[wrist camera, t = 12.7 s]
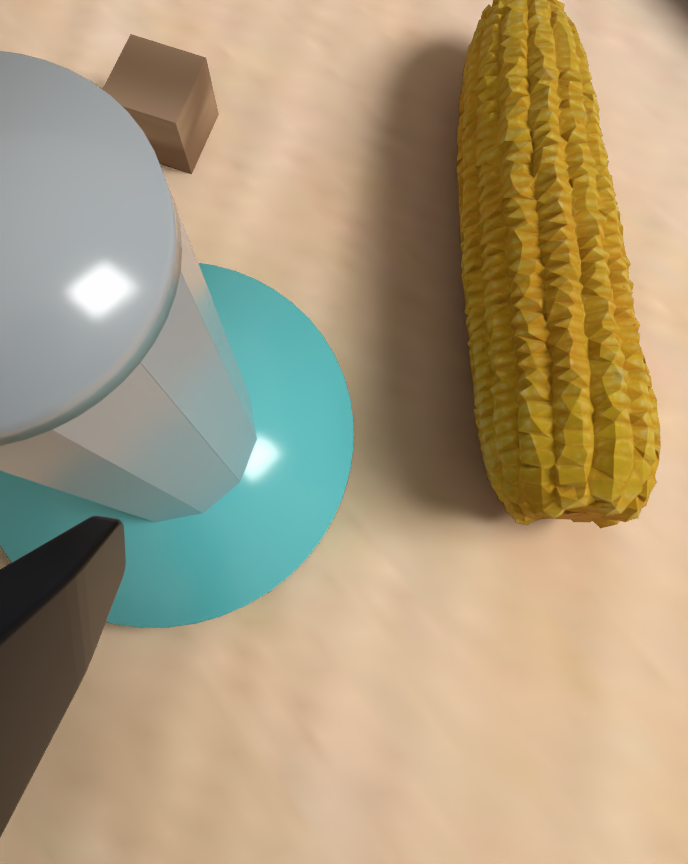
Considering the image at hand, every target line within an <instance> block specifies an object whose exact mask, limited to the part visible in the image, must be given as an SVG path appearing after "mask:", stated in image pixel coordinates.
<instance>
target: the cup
mask: <svg viewBox="0 0 688 864" xmlns="http://www.w3.org/2000/svg"><path fill="white" fill-rule="evenodd" d="M256 440H257V436H256V430H255V424H254V419H253V413H252V407H251V401H250V395H249V393H248V390H247V388H246V385H245V382H244V380H243V377H242V375H241V372H240V370H239V367H238V364H237V362H236V359H235V357H234V354H233V351H232V349H231V346H230V344H229V341H228V339H227V336H226V333H225V331H224V328H223V326H222V323H221V320H220V318H219V315H218V313H217V310H216V308H215V305H214V302H213V300H212V297H211V295H210V292H209V289H208V287H207V284H206V282H205V279H204V277H203V274H202V271H201V269H200V266H199V264H198V261H197V259H196V256H195V253H194V251H193V248H192V246H191V243H190V240H189V238H188V235H187V233H186V230H185V228H184V225H183V222H182V220H181V217H180V215H179V212H178V209H177V207H176V204H175V202H174V199H173V197H172V194H171V191H170V189H169V186H168V184H167V182H166V179H165V176H164V174H163V171H162V169H161V166H160V164H159V161H158V159H157V156H156V154H155V151H154V149H153V148H152V146H151V144H150V142H149V141H148V139H147V137H146V135H145V134H144V132H143V130H142V129H141V128H140V127H139V125H138V124H137V123H136V122H135V120H134V119H133V118H132V116H131V115H130V114H129V113H128V112H127V111H126V110H125V109H124V108H123V107H122V106H121V105H120V104H119V103H118V102H117V101H116V100H115V99H114V98H113V97H112V96H111V95H109V94H108V93H106V92H105V91H104V90H102V89H101V88H100V87H98V86H97V85H95V84H94V83H93V82H91V81H90V80H88V79H86V78H84V77H82V76H80V75H78V74H77V73H75V72H73V71H71V70H69V69H67V68H64V67H61V66H59V65H56V64H54V63H51V62H49V61H46V60H42V59H38V58H35V57H31V56H27V55H23V54H18V53H11V52H4V51H0V470H1V471H4V472H7V473H10V474H12V475H15V476H18V477H21V478H24V479H27V480H30V481H33V482H36V483H39V484H42V485H45V486H48V487H51V488H54V489H57V490H60V491H63V492H66V493H69V494H72V495H75V496H78V497H81V498H84V499H87V500H90V501H93V502H96V503H99V504H102V505H105V506H108V507H111V508H114V509H117V510H120V511H123V512H126V513H129V514H132V515H135V516H138V517H141V518H144V519H147V520H150V521H153V522H160V521H165V520H170V519H176V518H181V517H186V516H191V515H197V514H202V513H204V512H205V511H206V510H208V509H209V508H210V507H211V506H212V505H214V504H215V503H216V502H217V501H218V500H220V499H221V498H222V497H223V496H225V495H226V494H227V493H228V492H229V491H231V490H232V489H233V488H234V487H235V486H237V485H238V484H239V483H240V482H241V479H242V477H243V474H244V472H245V469H246V466H247V464H248V461H249V459H250V456H251V453H252V451H253V448H254V445H255V443H256Z"/></svg>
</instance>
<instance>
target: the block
mask: <svg viewBox="0 0 688 864" xmlns="http://www.w3.org/2000/svg"><path fill="white" fill-rule="evenodd" d="M103 90H104V91H105V92H106V93H108V94H109V95H111V96H112V97H113V98H114V99H115V100H116V101H117V102H118V103H119V104H120V105H121V106H122V107H123V108H124V109H125V110H126V111H127V112H128V113H129V114H130V115H131V116H132V118H133V119H134V120H135V122H136V123H137V124H138V125H139V127H140V128H141V129H142V130H143V132H144V134H145V135H146V137H147V139H148V141H149V142H150V144H151V146H152V148H153V149H154V151H155V154H156V156H157V159H158V161H159V163H160V164H163V165H166V166H169V167H172V168H175V169H178V170H181V171H185V172H188V173H191V174H192V172H193V170H194V168H195V166H196V163H197V161H198V159H199V157H200V154H201V152H202V150H203V148H204V146H205V143H206V141H207V139H208V137H209V134H210V132H211V130H212V128H213V126H214V123H215V121H216V119H217V117H218V110H217V105H216V101H215V96H214V92H213V87H212V83H211V78H210V73H209V69H208V64H207V60H206V58H205V57H202V56H199V55H195V54H192V53H189V52H186V51H183V50H180V49H176V48H173V47H170V46H167V45H164V44H160V43H157V42H154V41H151V40H148V39H144V38H141V37H138V36H135V35H132V34H131V35H130V37H129V39H128V41H127V43H126V44H125V46H124V48H123V50H122V52H121V54H120V56H119V58H118V60H117V62H116V64H115V66H114V68H113V70H112V72H111V74H110V76H109V78H108V80H107V82H106V84H105V86H104V88H103Z"/></svg>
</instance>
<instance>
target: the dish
mask: <svg viewBox="0 0 688 864" xmlns="http://www.w3.org/2000/svg"><path fill="white" fill-rule="evenodd" d="M198 264H199V266H200V269H201V271H202V274H203V277H204V279H205V282H206V284H207V287H208V289H209V292H210V295H211V297H212V300H213V302H214V305H215V308H216V310H217V313H218V315H219V318H220V320H221V323H222V326H223V328H224V331H225V333H226V336H227V339H228V341H229V344H230V346H231V349H232V351H233V354H234V357H235V359H236V362H237V364H238V367H239V370H240V372H241V375H242V377H243V380H244V382H245V385H246V388H247V390H248V393H249V395H250V401H251V407H252V413H253V419H254V424H255V430H256V436H257V440H256V443H255V445H254V448H253V451H252V453H251V456H250V459H249V461H248V464H247V466H246V469H245V472H244V474H243V477H242V479H241V482H240V483H239V484H238V485H237V486H235V487H234V488H233V489H232V490H231V491H229V492H228V493H227V494H226V495H225V496H223V497H222V498H221V499H220V500H218V501H217V502H216V503H215V504H214V505H212V506H211V507H210V508H209V509H208V510H206V511H205V512H204V513H202V514H197V515H191V516H186V517H181V518H176V519H170V520H165V521H160V522H153V521H150V520H147V519H144V518H141V517H138V516H135V515H132V514H129V513H126V512H123V511H120V510H117V509H114V508H111V507H108V506H105V505H102V504H99V503H96V502H93V501H90V500H87V499H84V498H81V497H78V496H75V495H72V494H69V493H66V492H63V491H60V490H57V489H54V488H51V487H48V486H45V485H42V484H39V483H36V482H33V481H30V480H27V479H24V478H21V477H18V476H15V475H12V474H10V473H7V472H4V471H1V470H0V546H1V548H2V549H3V551H4V552H5V554H6V555H7V557H8V558H9V559H10V561H11V562H14V561H15V560H17V559H19V558H21V557H22V556H24V555H26V554H27V553H29V552H31V551H33V550H34V549H36V548H38V547H39V546H41V545H43V544H45V543H46V542H48V541H50V540H52V539H53V538H55V537H57V536H58V535H60V534H62V533H64V532H65V531H67V530H69V529H70V528H72V527H74V526H76V525H77V524H79V523H81V522H82V521H84V520H86V519H88V518H90V517H92V516H104V517H110V518H116V519H119V520H121V521H122V523H123V525H124V534H125V553H126V566H125V572H124V576H123V579H122V581H121V584H120V586H119V589H118V592H117V594H116V597H115V599H114V602H113V605H112V607H111V610H110V612H109V615H108V617H107V620H106V622H109V623H113V624H118V625H125V626H133V627H141V628H151V627H174V626H181V625H188V624H195V623H198V622H202V621H206V620H209V619H213V618H216V617H220V616H222V615H225V614H227V613H230V612H232V611H234V610H237V609H239V608H241V607H244V606H246V605H248V604H250V603H252V602H254V601H255V600H257V599H259V598H260V597H262V596H264V595H265V594H267V593H269V592H271V591H272V590H273V589H274V588H276V587H277V586H278V585H279V584H281V583H282V582H283V581H285V580H286V579H287V578H288V577H290V576H291V575H292V574H293V573H294V572H295V571H296V570H297V569H298V568H299V567H300V566H301V565H302V564H303V563H304V562H305V561H306V560H307V559H308V557H309V556H310V555H311V553H312V552H313V551H314V549H315V548H316V547H317V545H318V544H319V543H320V541H321V540H322V539H323V537H324V535H325V533H326V532H327V530H328V528H329V526H330V525H331V523H332V521H333V519H334V517H335V515H336V513H337V510H338V508H339V505H340V503H341V500H342V498H343V495H344V492H345V488H346V484H347V480H348V476H349V473H350V469H351V461H352V453H353V445H354V434H353V415H352V408H351V401H350V396H349V393H348V389H347V386H346V382H345V378H344V375H343V373H342V371H341V368H340V366H339V364H338V362H337V359H336V357H335V355H334V353H333V352H332V350H331V348H330V347H329V345H328V343H327V342H326V340H325V338H324V337H323V335H322V334H321V333H320V332H319V330H318V329H317V328H316V327H315V325H314V324H313V323H312V322H311V320H310V319H309V318H308V317H307V316H306V315H305V314H304V313H303V312H302V311H300V310H299V309H298V308H297V307H296V306H295V305H294V304H293V303H292V302H291V301H289V300H288V299H286V298H285V297H284V296H282V295H281V294H280V293H278V292H277V291H275V290H274V289H272V288H270V287H269V286H267V285H265V284H263V283H261V282H259V281H258V280H256V279H254V278H251V277H249V276H246V275H244V274H241V273H239V272H236V271H233V270H230V269H226V268H222V267H218V266H214V265H209V264H202V263H198Z"/></svg>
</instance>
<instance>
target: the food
mask: <svg viewBox="0 0 688 864" xmlns="http://www.w3.org/2000/svg"><path fill="white" fill-rule="evenodd" d="M564 5H565V4H563V3H561V2H559V1H557V0H493V4H492V7H491V6H490V5H488V6H487V7H486V8H485V9H484V11H483V12H482V16H481V20H479V22H478V25H477V28H476V31H475V32H474V36H473V39H472V42H471V44H470V45H469V47H468V50H467V56H466V62H465V66H464V70H463V74H462V75H463V77H464V78H463V82H462V94H461V96H460V103H459V115H460V118H459V123H458V132H457V146H458V155H457V160H456V162H457V165H458V166H457V167H456V170H457V175H458V191H459V215H460V233H461V245H460V247H461V250H462V262H461V268H462V275H461V277H462V282H463V287H464V296H465V303H466V307H465V311H464V313H466V314H467V319H466V326H467V328H468V334H469V339H470V340H469V342H468V343H467V344H468V345H469V347H470V350H469V355H470V362H471V372H472V378H473V383H474V404H475V407H476V409H474V413H475V417H476V426H477V429H478V438H479V441H480V444H481V448H480V449H481V452H482V455H483V461H484V464H485V468H486V469H487V479H488V480H490V481H491V486H492V488H493V489H494V490H495V492H496V494H497V497H498V499H499V500H500V501H501V502H503V503H504V504H505V510H506V511H507V512H508V513H509V514H510V515H512V517H513V518H514V519H515V521H516V522H517V523H521V524H525V525H528V524H530V523H531V522H533V521H535V520H538V519H546V518H555V519H571V520H572V521H573V522H591V521H593V522H594V523H595V524H597V525H598V526H599V527H600V528H603V527H607V526H612V525H616V524H618V523H619V521H623V522H627V521H629V520H632V519H636V518H638V517H639V514H640V511H641V509H642V508H643V507H644V506H646V505H647V502H648V498H649V495H650V492H651V491H652V489H653V487H654V486H655V484H656V483H657V482H656V479H655V473H656V470H657V467H658V464H659V455H660V446H661V445H660V425H659V419H658V413H657V400H656V397H655V394H654V392H653V389H652V384H651V376H650V375H648V374H649V370H648V367H647V365H646V362H645V358H644V355H643V353H642V350H641V347H640V345H639V337H640V334H639V333H638V329H639V326H640V324H639V322H638V321H637V319H636V318H635V314H634V308H633V301H634V299H633V298H632V297H631V295H632V293H633V292H632V289H633V282H631V281H630V280H629V272H628V268H629V266H630V262H629V260H628V258H627V257H626V253H625V248H624V242H623V226H622V224H621V223H620V212H619V211H618V207H617V202H616V201H615V196H616V194H615V192H614V189H613V182H612V176H611V175H610V173H609V171H608V169H607V166H608V162H609V161H608V160H607V158H608V155H607V152H606V150H605V147H604V143H603V141H602V139H601V137H602V136H603V135H602V132H601V129H600V127H599V120H600V118H599V115H598V113H599V106H598V103H597V99H596V97H597V96H596V93H595V91H594V89H593V86H592V83H591V82H590V80H591V79H592V77H591V74H590V72H589V69H588V67H589V65H588V61H587V56H586V53H585V51H584V48H583V46H582V44H581V41H580V39H579V35H578V33H577V30H576V27H575V25H574V23H573V22H572V21H571V19H570V18H569V17H567V15H566V13H565V12H564V11H563V10H564Z"/></svg>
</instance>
